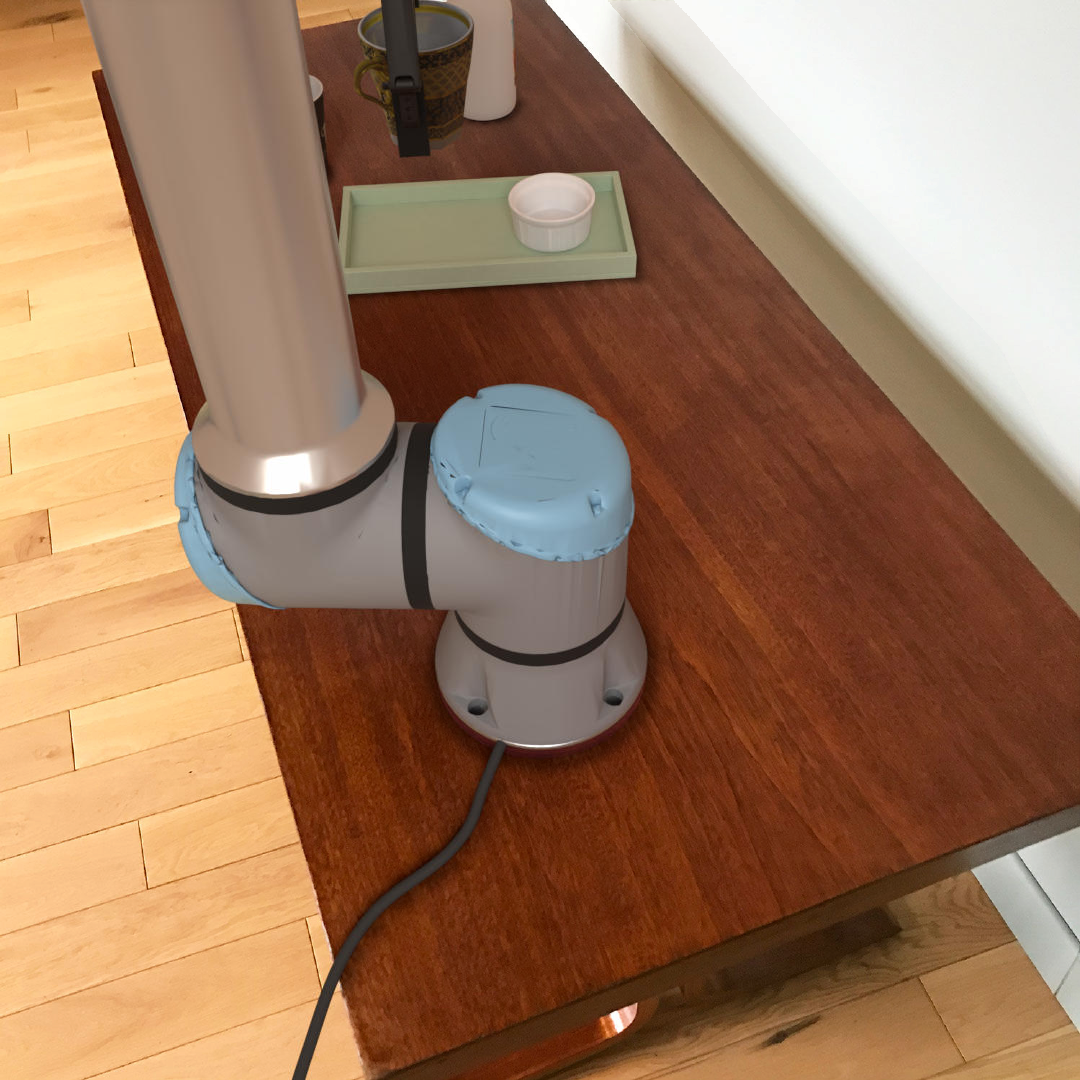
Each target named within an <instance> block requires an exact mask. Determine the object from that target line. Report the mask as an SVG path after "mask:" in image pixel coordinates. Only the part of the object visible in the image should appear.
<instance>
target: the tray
mask: <svg viewBox="0 0 1080 1080" xmlns="http://www.w3.org/2000/svg"><path fill="white" fill-rule="evenodd" d="M569 174H570V175H574V176H577V177H579V178H581V179H583V180H585V181H586V182H588V183H589V184H590V185H591V186H592V188H593V190H594V192H595V203H594V206H593V210H592V220H591V229H590V233H589V235H588V237H587V239H586V240H585V241H584V242H583V243H582V244H580V245H579V246H577V247H575V248H573V249H570V250H567V251H562V252H555V253H549V252H540V251H536V250H533V249H530V248H528V247H526V246H525V245H523V244H522V243H521V242H520V241H519V240H518V238H517V237H516V235H515V231H514V226H513V219H512V213H511V209H510V206H509V202H508V195H509V193H510V191H511V189H512V188H513V187H514V186H515V185H516V184H517V183H518V182H520V181H521V180H523V179H525V178H528V177H530V176H531V175H521V176H520V175H519V176H503V177H501V176H500V177H484V178H483V177H482V178H468V179H467V178H465V179H448V180H447V179H446V180H432V181H431V180H429V181H413V182H397V183H379V184H359V185H343V186H342V198H341V210H340V225H339V236H338V243H339V249H340V254H341V260H342V266H343V271H344V277H345V283H346V288H347V294H348V295H361V294H377V293H392V292H393V293H395V292H409V291H410V292H411V291H427V290H446V289H461V288H463V289H464V288H476V287H477V288H478V287H495V286H496V287H497V286H510V285H511V286H512V285H529V284H545V283H546V284H547V283H548V284H549V283H563V282H577V281H578V282H580V281H595V280H610V279H611V280H612V279H613V280H614V279H631V278H636V275H637V258H638V257H637V256H638V255H637V250H636V247H635V241H634V237H633V232H632V228H631V222H630V218H629V214H628V209H627V204H626V200H625V195H624V190H623V187H622V186H623V185H622V181H621V177H620V171H619V170H608V171H606V170H605V171H590V172H574V173H573V172H571V173H569Z"/></svg>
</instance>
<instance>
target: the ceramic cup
mask: <svg viewBox="0 0 1080 1080" xmlns="http://www.w3.org/2000/svg"><path fill="white" fill-rule="evenodd" d="M415 15H416V27H417V40H418V52H419V65H420V76H421V77H422V81H423V85H424V95H425V105H426V114H427V124H428V134H429V143H430V151H438V150H443V149H445V148H446V147H448V146H449V145H451V144H452V143H454V142H456V141H457V140H458V139H461V137H462V134H463V127H464V118H465V117H464V108H465V99H466V90H467V80H468V75H469V70H470V64H471V56H472V48H473V36H474V21H473V19H472V17H471V16H470V14H469V13H467V12H466V11H465V10H463V9H462V8H460V7H458V6H455V5H453V4H450V3H447V1H446V2H445V1H441V0H419V8H415ZM356 31H357V35H358V39H359V43H360V46H361V50H362V54H363V56H364V59H363V60H362V61H360V62H359V63H358V65H357V66H356V67H355V70H354V74H353V88H354V91H355V92H356V94H357V95H358V96H360V97H361V98H363V99H364V100H366V101H369V102H371V103H374V104H376V105H377V106H378V107H379V108H381V109H382V110H383V114H384V117H385V120H386V124H387V127H388V132H389V135H390V138H391V139H390V140H391V141H392V143H393V144H394V145H396V146H398V140H397V133H396V125H395V117H394V109H393V101H392V93H391V92H390V90H383V88H382V82H389V74H388V64H387V55H386V45H385V36H384V26H383V17H382V7H381V6H379V7H377V8H375V9H373V10H371V11H370V12H368V13H367V14H366V15H364V16H363V17H362V18H361V20H359V23H358V25H357V30H356ZM366 72H369V73H370V76H371V79H372V82H373V84H374V86H375V89H376V91H377V96H378V98H377V97H375V96H372V95H369V94H367V93H365V92H364V91H363V90H362V87H361V83H362V82H361V81H362V78H363V77H364V75H365V73H366Z"/></svg>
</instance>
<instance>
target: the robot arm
mask: <svg viewBox="0 0 1080 1080" xmlns="http://www.w3.org/2000/svg"><path fill="white" fill-rule="evenodd" d="M79 1H80V4H81V7H82V10H83V13H84V16H85V20H86V23H87V26H88V29H89V33H90V35H91V39H92V42H93V45H94V49H95V52H96V55H97V58H98V61H99V64H100V68H101V70H102V73H103V76H104V77H103V78H104V80H105V83H106V87H107V89H108V92H109V95H110V99H111V103H112V106H113V109H114V111H115V115H116V118H117V122H118V125H119V127H120V131H121V134H122V137H123V140H124V144H125V147H126V149H127V153H128V156H129V159H130V162H131V165H132V169H133V171H134V175H135V178H136V181H137V185H138V188H139V190H140V195H141V197H142V200H143V203H144V207H145V210H146V213H147V216H148V219H149V222H150V226H151V229H152V232H153V235H154V239H155V242H156V244H157V248H158V251H159V254H160V258H161V260H162V264H163V267H164V269H165V273H166V276H167V280H168V282H169V286H170V289H171V293H172V295H173V298H174V301H175V305H176V308H177V311H178V314H179V318H180V321H181V323H182V327H183V330H184V333H185V337H186V339H187V343H188V346H189V349H190V352H191V355H192V358H193V362H194V365H195V368H196V371H197V373H198V374H197V375H198V377H199V381H200V384H201V387H202V391H203V393H204V396H205V402H204V404H203V405H202V406H201V407H200V409H199V411H198V412H197V415H196V417H195V419H194V422H193V425H192V429H191V430H190V431H189V432H188V433H187V435H186V436H185V438H184V439H183V442H182V444H181V447H180V450H179V452H178V456H177V460H176V465H175V472H174V480H173V483H174V484H173V485H174V486H173V496H174V498H173V499H174V506H175V507H176V508H177V509H178V511H179V520H178V522H177V531H178V534H179V538H180V542H181V544H182V548H183V551H184V553H185V554H184V555H185V556H186V558H187V561H188V563H189V565H190V567H191V569H192V571H193V572H194V574H195V575H196V577H197V578H198V580H199V581H200V583H202V585H203V586H204V587H205V588H206V589H207V590H208V591H209V592H211V594H213V595H215V596H216V597H218V598H219V599H221V600H224V601H227V602H229V603H232V604H241V605H253V606H261V607H264V608H267V609H272V610H286V609H291V608H293V609H361V610H362V609H365V610H367V609H370V610H432V611H433V610H434V611H435V610H437V611H447V614H446V616H445V619H444V621H443V623H442V626H441V628H440V631H439V634H438V638H437V642H436V646H435V651H434V652H435V653H434V669H435V676H436V682H437V685H438V686H437V687H438V691H439V695H440V698H441V700H442V703H443V705H444V707H445V708H446V710H447V712H448V714H449V715H450V716H451V718H452V720H453V721H454V722H455V723H456V724H457V725H458V726H459V728H461V730H462V731H464V732H465V733H466V734H467V735H469V737H471V738H472V739H474V740H475V741H477V742H479V743H480V744H482V745H484V746H486V747H487V748H489V749H492V751H491V753H490V756H489V758H488V759H487V763H486V766H485V768H484V771H483V773H482V775H481V777H480V780H479V782H478V785H477V788H476V790H475V793H474V796H473V799H472V803H471V807H470V808H469V811H468V814H467V817H466V818H465V821H464V823H463V824H462V826H461V827H460V829H459V830H458V832H457V833H456V834H455V836H454V837H453V838H452V839H451V841H450V842H449V843H448V844H447V845H446V846H445V847H443V849H442V850H440V852H438V853H437V854H436V855H435V856H434V857H433V858H431V859H430V860H429V861H428V862H426V863H425V864H423V865H422V866H421V867H420V868H418V869H417V870H415V871H413V872H412V873H411V874H409V875H408V876H407V877H405V878H403V879H402V880H401V881H399V882H398V883H397V884H395V885H394V886H392V887H391V888H390V889H389V890H388V891H386V892H385V893H383V895H382V896H381V897H379V898H378V899H377V901H375V902H374V903H373V904H372V905H371V906H370V907H369V908H368V910H366V911H365V912H364V913H363V915H362V917H361V918H360V919H359V920H358V922H357V923H356V925H355V926H354V927H353V928H352V930H351V932H350V933H349V935H348V936H347V938H346V939H345V940H344V942H343V944H342V946H341V948H340V950H339V951H338V953H337V954H336V957H335V959H334V960H333V963H332V964H331V967H330V969H329V971H328V973H327V975H326V978H325V981H324V983H323V986H322V988H321V991H320V993H319V996H318V999H317V1001H316V1005H315V1007H314V1011H313V1014H312V1017H311V1020H310V1023H309V1025H308V1029H307V1032H306V1035H305V1038H304V1041H303V1043H302V1044H303V1045H302V1047H301V1050H300V1053H299V1055H298V1058H297V1062H296V1064H295V1068H294V1071H293V1074H292V1077H291V1080H306V1079H307V1076H308V1072H309V1070H310V1066H311V1063H312V1060H313V1057H314V1054H315V1052H316V1048H317V1045H318V1042H319V1039H320V1036H321V1033H322V1029H323V1027H324V1023H325V1020H326V1018H327V1015H328V1011H329V1008H330V1005H331V1003H332V1002H331V1001H332V1000H333V998H334V995H335V991H336V988H337V987H338V984H339V981H340V979H341V977H342V975H343V972H344V970H345V969H346V967H347V964H348V962H349V960H350V959H351V957H352V955H353V953H354V952H355V949H356V948H357V947H358V945H359V943H360V941H361V940H362V939H363V937H364V936H365V934H366V933H367V931H368V930H369V929H370V928H371V926H372V925H373V923H374V922H375V921H376V920H377V919H378V918H379V917H380V916H381V915H382V914H383V912H385V911H386V910H387V909H388V908H389V907H390V906H391V905H392V904H393V903H395V902H396V901H397V900H399V898H401V897H402V896H403V895H405V894H406V893H407V892H409V891H410V890H412V889H413V888H414V887H416V886H417V885H419V884H420V883H422V882H423V881H424V880H426V879H428V878H429V877H430V876H431V875H433V874H434V873H435V872H436V871H438V870H439V869H441V868H442V867H443V866H444V865H445V864H446V863H448V862H449V861H450V860H451V859H452V858H453V857H454V856H455V855H456V853H458V851H459V850H460V849H461V848H462V847H463V845H464V844H465V843H466V842H467V840H469V837H470V836H471V835H472V833H473V832H474V831H475V828H476V826H477V824H478V822H479V819H480V817H481V815H482V811H483V808H484V805H485V802H486V799H487V795H488V793H489V789H490V787H491V784H492V782H493V779H494V777H495V775H496V772H497V770H498V767H499V765H500V763H501V760H502V758H503V755H504V754H506V755H510V756H514V757H518V758H524V759H525V758H526V759H536V760H537V759H538V760H539V759H540V760H541V759H542V760H543V759H555V758H562V757H567V756H571V755H574V754H575V755H576V754H578V753H581V752H584V751H586V750H589V749H592V748H593V747H596V746H597V745H599V744H601V743H603V742H604V741H606V740H608V739H609V738H610V737H612V736H613V735H614V734H616V732H618V731H619V730H620V729H621V728H622V727H623V726H624V725H625V724H626V723H627V722H628V720H629V719H630V718H631V716H632V715H633V713H634V712H635V711H636V709H637V707H638V705H639V703H640V701H641V699H642V696H643V692H644V689H645V686H646V679H647V672H648V671H647V670H648V647H647V642H646V637H645V634H644V632H643V629H642V625H641V624H640V622H639V620H638V617H637V615H636V613H635V611H634V609H633V607H632V605H631V603H630V601H629V599H628V597H627V593H626V592H627V581H628V580H627V579H628V576H627V575H628V553H629V535H630V534H629V533H630V530H631V528H632V526H633V522H634V518H635V510H636V509H635V508H636V507H635V495H634V492H633V489H632V466H631V461H630V456H629V453H628V449H627V447H626V445H625V442H624V441H623V439H622V437H621V435H620V434H619V432H618V431H617V429H616V428H615V427H614V426H613V424H612V423H611V422H610V421H609V420H608V419H606V418H604V417H602V416H600V415H599V414H597V412H596V410H595V408H594V407H592V406H591V405H590V404H588V403H587V402H585V401H583V400H581V399H580V398H578V397H577V396H574V395H572V394H570V393H567V392H564V391H562V390H560V389H555V388H551V387H548V386H544V385H536V384H531V383H530V384H529V383H505V384H497V385H491V386H486V387H484V388H483V387H482V388H480V389H478V391H477V393H476V396H475V397H474V398H473V397H471V396H467V395H466V396H463V397H462V398H460V399H458V400H456V401H455V402H454V403H453V404H452V405H451V406H449V408H448V409H446V411H444V413H443V414H442V416H441V418H440V419H439V421H438V422H417V421H397V417H396V416H397V415H396V411H395V405H394V402H393V400H392V397H391V395H390V393H389V391H388V390H387V388H386V387H385V386H384V385H383V384H382V382H381V381H379V379H377V378H376V377H375V376H373V374H371V373H369V372H367V371H365V370H363V369H362V367H361V362H360V357H359V351H358V345H357V341H356V335H355V334H356V333H355V329H354V323H353V318H352V311H351V307H350V306H351V305H350V301H349V294H347V288H346V283H345V277H344V271H343V266H342V260H341V254H340V249H339V236H338V231H337V227H336V221H335V214H334V210H333V209H334V208H333V203H332V199H331V198H332V197H331V193H330V188H329V182H328V177H327V175H326V169H325V163H324V158H323V152H322V146H321V141H320V135H319V129H318V124H317V118H316V112H315V107H314V101H313V95H312V90H311V84H310V78H309V75H310V73H309V67H308V62H307V56H306V49H305V46H304V40H303V35H302V34H303V33H302V28H301V23H300V21H301V20H300V17H299V10H298V6H297V0H79ZM380 7H382V17H383V26H384V36H385V45H386V55H387V64H388V74H389V82H382V88H383V90H390V92H391V93H392V101H393V109H394V117H395V125H396V133H397V140H398V145H397V147H398V155H399V156H398V157H399V158H419V157H431V150H430V143H429V134H428V124H427V114H426V105H425V95H424V85H423V81H422V77H421V76H420V65H419V52H418V40H417V27H416V15H415V8H419V0H380Z"/></svg>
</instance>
